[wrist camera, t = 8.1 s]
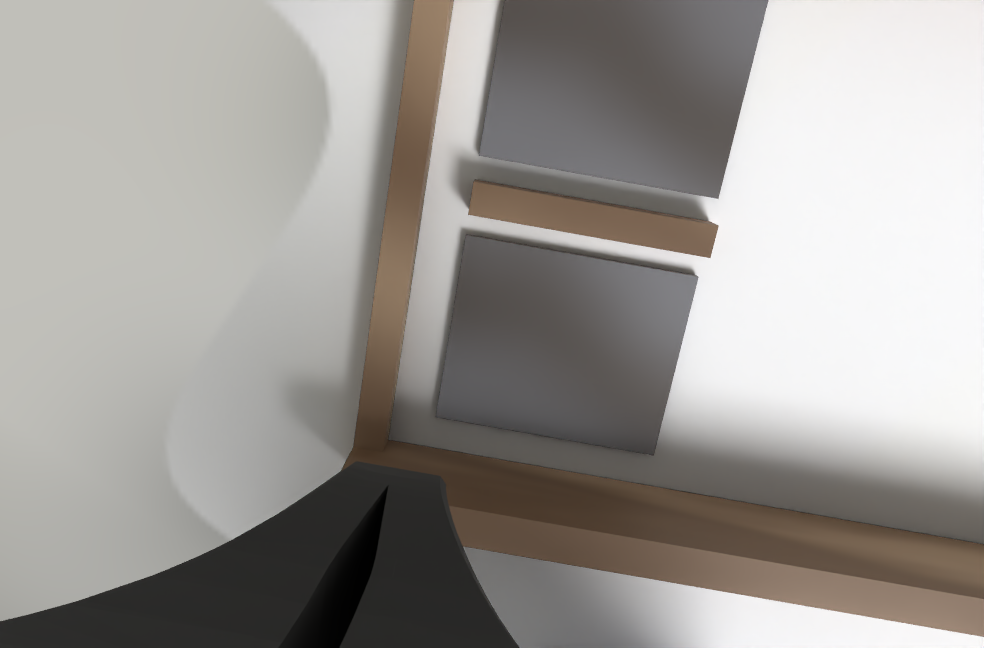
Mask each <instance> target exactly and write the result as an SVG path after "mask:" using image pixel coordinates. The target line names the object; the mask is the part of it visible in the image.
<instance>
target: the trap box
mask: <svg viewBox="0 0 984 648" xmlns="http://www.w3.org/2000/svg"><path fill="white" fill-rule="evenodd" d="M453 1H454V0H414V5H413V12H412V20H411V27H410V34H409V42H408V49H407V56H406V64H405V71H404V78H403V86H402V93H401V100H400V108H399V115H398V123H397V130H396V137H395V145H394V152H393V159H392V167H391V174H390V181H389V189H388V196H387V203H386V211H385V218H384V225H383V233H382V240H381V247H380V255H379V262H378V269H377V277H376V284H375V292H374V299H373V306H372V314H371V321H370V328H369V336H368V343H367V350H366V358H365V365H364V372H363V380H362V387H361V394H360V402H359V409H358V416H357V424H356V431H355V439H354V446H353V449H352V451H351V452H350V454H349V456H348V458H347V460H346V462H345V464H344V466H343V468H342V470H344V469H345V468H347V467H348V466H350V465H351V464H353V463H354V462H356V461H359V462H364V463H370V464H376V465H381V466H387V467H393V468H399V469H404V470H410V471H416V472H421V473H427V474H433V475H439V476H441V478H442V479H443V481H444V482H445V483H446V493H447V500H448V504H449V508H450V512H451V515H452V519H453V522H454V525H455V528H456V531H457V534H458V536H459V539H460V541H461V544H462V546H465V547H470V548H476V549H482V550H488V551H493V552H499V553H505V554H511V555H516V556H522V557H528V558H534V559H539V560H545V561H551V562H557V563H562V564H568V565H574V566H580V567H585V568H591V569H597V570H603V571H608V572H614V573H620V574H626V575H631V576H637V577H643V578H649V579H654V580H660V581H666V582H672V583H677V584H683V585H689V586H695V587H700V588H706V589H712V590H718V591H723V592H729V593H735V594H741V595H746V596H752V597H758V598H764V599H769V600H775V601H781V602H787V603H792V604H798V605H804V606H810V607H815V608H821V609H827V610H833V611H838V612H844V613H850V614H856V615H861V616H867V617H873V618H879V619H885V620H890V621H896V622H902V623H908V624H913V625H919V626H925V627H931V628H936V629H942V630H948V631H954V632H959V633H965V634H971V635H977V636H982V637H984V544H979V543H973V542H967V541H962V540H956V539H950V538H945V537H939V536H933V535H928V534H922V533H916V532H910V531H905V530H899V529H893V528H888V527H882V526H876V525H871V524H865V523H859V522H853V521H848V520H842V519H836V518H831V517H825V516H819V515H813V514H808V513H802V512H796V511H791V510H785V509H779V508H774V507H768V506H762V505H756V504H751V503H745V502H739V501H734V500H728V499H722V498H717V497H711V496H705V495H699V494H694V493H688V492H682V491H677V490H671V489H665V488H659V487H654V486H648V485H642V484H637V483H631V482H625V481H620V480H614V479H608V478H602V477H597V476H591V475H585V474H580V473H574V472H568V471H563V470H557V469H551V468H545V467H540V466H534V465H528V464H523V463H517V462H511V461H506V460H500V459H494V458H488V457H483V456H477V455H471V454H466V453H460V452H454V451H448V450H443V449H437V448H431V447H426V446H420V445H414V444H409V443H403V442H397V441H391V440H388V438H389V431H390V424H391V417H392V411H393V404H394V397H395V391H396V384H397V377H398V370H399V364H400V357H401V350H402V344H403V337H404V330H405V324H406V317H407V310H408V303H409V297H410V290H411V283H412V277H413V270H414V263H415V256H416V250H417V243H418V236H419V230H420V223H421V216H422V209H423V203H424V196H425V189H426V183H427V176H428V169H429V162H430V156H431V149H432V142H433V136H434V129H435V122H436V116H437V109H438V102H439V95H440V89H441V82H442V75H443V69H444V62H445V55H446V48H447V42H448V35H449V28H450V22H451V15H452V8H453ZM767 3H768V0H505V2H504V8H503V14H502V20H501V26H500V32H499V38H498V44H497V50H496V56H495V62H494V68H493V74H492V80H491V86H490V92H489V98H488V104H487V110H486V116H485V122H484V128H483V134H482V141H481V147H480V153H479V156H484V157H490V158H495V159H501V160H506V161H512V162H517V163H523V164H529V165H534V166H540V167H545V168H551V169H556V170H562V171H567V172H573V173H579V174H584V175H590V176H595V177H601V178H606V179H612V180H617V181H623V182H628V183H634V184H640V185H645V186H651V187H656V188H662V189H667V190H673V191H678V192H684V193H689V194H695V195H701V196H706V197H712V198H717V199H718V198H719V194H720V190H721V186H722V182H723V178H724V174H725V170H726V166H727V162H728V158H729V154H730V150H731V146H732V142H733V138H734V134H735V130H736V126H737V122H738V118H739V114H740V110H741V106H742V102H743V98H744V95H745V91H746V87H747V83H748V79H749V75H750V71H751V67H752V63H753V59H754V55H755V51H756V47H757V43H758V39H759V35H760V31H761V27H762V23H763V19H764V15H765V11H766V7H767ZM468 215H473V216H479V217H484V218H490V219H496V220H501V221H507V222H512V223H518V224H523V225H529V226H535V227H540V228H546V229H551V230H557V231H563V232H568V233H574V234H579V235H585V236H590V237H596V238H602V239H607V240H613V241H618V242H624V243H629V244H635V245H641V246H646V247H652V248H657V249H663V250H669V251H674V252H680V253H685V254H691V255H696V256H702V257H708V258H710V257H711V253H712V249H713V245H714V242H715V238H716V234H717V230H718V225H716V224H714V223H712V222H709V221H704V220H698V219H693V218H687V217H681V216H676V215H670V214H665V213H659V212H654V211H648V210H642V209H637V208H631V207H626V206H620V205H615V204H609V203H604V202H598V201H592V200H587V199H581V198H576V197H570V196H565V195H559V194H554V193H548V192H542V191H537V190H531V189H526V188H520V187H515V186H509V185H503V184H498V183H492V182H487V181H481V180H476V179H475V181H474V182H473V188H472V194H471V200H470V206H469V212H468ZM697 281H698V276H697V275H691V274H685V273H680V272H674V271H669V270H663V269H657V268H652V267H646V266H641V265H635V264H630V263H624V262H618V261H613V260H607V259H602V258H596V257H590V256H585V255H579V254H574V253H568V252H562V251H557V250H551V249H546V248H540V247H534V246H529V245H523V244H518V243H512V242H507V241H501V240H495V239H490V238H484V237H479V236H473V235H467V234H466V237H465V243H464V249H463V255H462V261H461V267H460V273H459V279H458V285H457V291H456V297H455V303H454V309H453V315H452V321H451V328H450V334H449V340H448V346H447V352H446V358H445V364H444V370H443V376H442V382H441V388H440V394H439V400H438V406H437V412H436V417H439V418H445V419H450V420H456V421H462V422H467V423H473V424H479V425H484V426H490V427H496V428H501V429H507V430H513V431H519V432H524V433H530V434H536V435H541V436H547V437H553V438H558V439H564V440H570V441H575V442H581V443H587V444H592V445H598V446H604V447H609V448H615V449H621V450H627V451H632V452H638V453H644V454H649V455H654V451H655V447H656V444H657V440H658V436H659V432H660V428H661V424H662V420H663V416H664V412H665V408H666V404H667V400H668V396H669V392H670V388H671V384H672V380H673V376H674V372H675V368H676V364H677V360H678V356H679V352H680V348H681V344H682V340H683V336H684V332H685V329H686V325H687V321H688V317H689V313H690V309H691V305H692V301H693V297H694V293H695V289H696V285H697ZM342 470H341V471H342Z"/></svg>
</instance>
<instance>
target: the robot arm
mask: <svg viewBox="0 0 984 648" xmlns="http://www.w3.org/2000/svg"><path fill="white" fill-rule="evenodd" d="M0 648H519V646H518V645H517V644H516V642H515V641H514V640H513V638H512V637H511V635H510V634H509V632H508V631H507V629H506V628H505V626H504V625H503V623H502V622H501V620H500V619H499V617H498V615H497V614H496V612H495V610H494V609H493V607H492V605H491V604H490V602H489V600H488V598H487V597H486V595H485V593H484V591H483V589H482V587H481V585H480V583H479V581H478V579H477V577H476V575H475V573H474V571H473V569H472V567H471V565H470V563H469V561H468V558H467V556H466V554H465V551H464V549H463V546H462V544H461V541H460V539H459V536H458V534H457V531H456V528H455V525H454V522H453V519H452V515H451V512H450V508H449V504H448V500H447V493H446V483H445V482H444V481H443V479H442V478H441V476H439V475H433V474H427V473H421V472H416V471H410V470H404V469H399V468H393V467H387V466H381V465H376V464H370V463H364V462H359V461H356V462H354V463H353V464H351V465H350V466H348V467H347V468H345V469H344V470H342V471H341V472H339V473H338V474H336V475H335V476H333V477H332V478H331V479H329V480H328V481H326V482H325V483H323V484H322V485H321V486H319V487H318V488H316V489H315V490H313V491H312V492H311V493H309V494H308V495H306V496H305V497H303V498H302V499H300V500H299V501H297V502H295V503H294V504H292V505H291V506H289V507H288V508H286V509H285V510H283V511H282V512H280V513H279V514H277V515H275V516H273V517H272V518H270V519H268V520H266V521H265V522H263V523H261V524H259V525H258V526H256V527H254V528H252V529H251V530H249V531H247V532H245V533H244V534H242V535H240V536H238V537H237V538H235V539H233V540H231V541H229V542H227V543H225V544H223V545H221V546H219V547H217V548H215V549H213V550H211V551H209V552H207V553H204V554H202V555H200V556H198V557H196V558H194V559H191V560H189V561H186V562H184V563H182V564H179V565H177V566H175V567H172V568H170V569H168V570H165V571H163V572H160V573H158V574H155V575H153V576H150V577H147V578H144V579H141V580H138V581H135V582H132V583H129V584H127V585H123V586H120V587H118V588H115V589H112V590H109V591H106V592H103V593H100V594H97V595H95V596H91V597H89V598H85V599H82V600H79V601H76V602H73V603H69V604H66V605H62V606H59V607H55V608H51V609H47V610H44V611H40V612H37V613H33V614H29V615H26V616H21V617H17V618H13V619H9V620H5V621H0Z"/></svg>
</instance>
